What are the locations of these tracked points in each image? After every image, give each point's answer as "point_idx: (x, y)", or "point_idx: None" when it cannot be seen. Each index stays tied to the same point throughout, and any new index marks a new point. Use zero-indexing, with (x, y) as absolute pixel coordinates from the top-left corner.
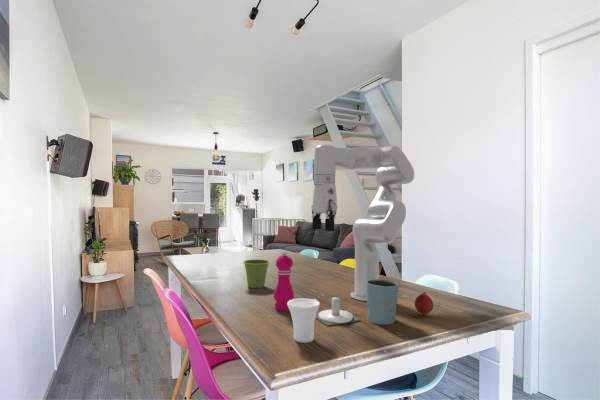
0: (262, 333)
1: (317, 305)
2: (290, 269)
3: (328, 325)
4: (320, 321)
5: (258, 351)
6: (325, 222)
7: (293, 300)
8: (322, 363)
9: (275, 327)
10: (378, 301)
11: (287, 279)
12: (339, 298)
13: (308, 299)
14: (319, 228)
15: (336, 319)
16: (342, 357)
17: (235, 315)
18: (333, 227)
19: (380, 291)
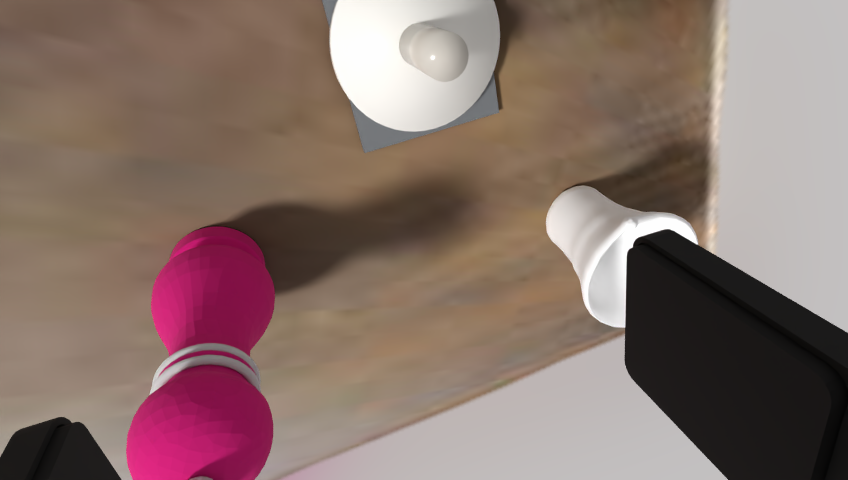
0: (497, 328)
1: (692, 228)
2: (197, 364)
3: (497, 106)
4: (441, 128)
5: (603, 328)
6: (748, 475)
7: (590, 304)
8: (715, 188)
9: (458, 295)
10: None
11: (243, 340)
12: (451, 34)
13: (606, 250)
14: (89, 450)
15: (483, 64)
16: (714, 129)
17: (311, 425)
18: (705, 265)
19: None
